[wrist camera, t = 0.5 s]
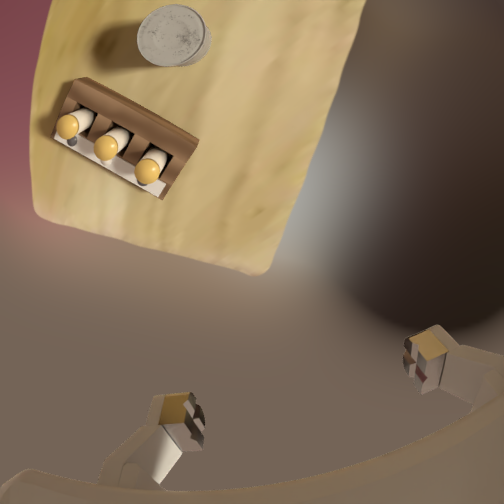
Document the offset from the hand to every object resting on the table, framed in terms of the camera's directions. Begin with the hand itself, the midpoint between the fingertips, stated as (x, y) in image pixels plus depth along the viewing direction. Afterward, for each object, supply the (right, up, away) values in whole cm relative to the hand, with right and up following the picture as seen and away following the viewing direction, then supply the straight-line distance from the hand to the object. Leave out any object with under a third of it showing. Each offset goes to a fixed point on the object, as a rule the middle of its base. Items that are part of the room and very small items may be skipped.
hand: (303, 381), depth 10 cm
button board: (-25, +27, +39) cm, 54 cm away
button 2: (-19, +22, +39) cm, 49 cm away
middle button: (-25, +25, +36) cm, 51 cm away
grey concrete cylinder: (-13, +41, +30) cm, 52 cm away
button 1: (-32, +29, +33) cm, 54 cm away
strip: (-28, +21, +36) cm, 50 cm away
